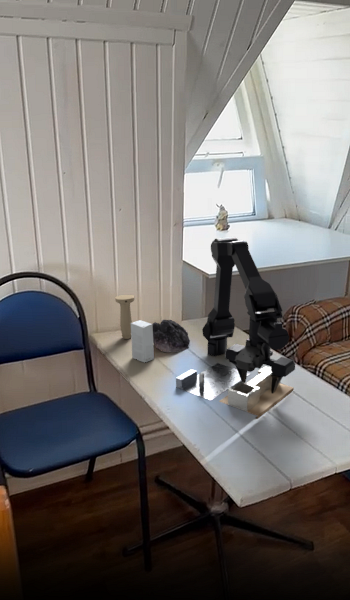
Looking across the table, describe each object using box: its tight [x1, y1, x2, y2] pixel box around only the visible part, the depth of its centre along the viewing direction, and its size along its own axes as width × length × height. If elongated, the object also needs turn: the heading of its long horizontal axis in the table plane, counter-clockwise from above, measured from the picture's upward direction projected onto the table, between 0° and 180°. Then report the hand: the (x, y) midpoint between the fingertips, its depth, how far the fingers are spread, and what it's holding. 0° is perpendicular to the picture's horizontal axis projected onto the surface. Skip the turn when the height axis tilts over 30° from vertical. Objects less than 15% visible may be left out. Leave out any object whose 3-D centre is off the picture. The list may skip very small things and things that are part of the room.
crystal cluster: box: [152, 319, 191, 353], centre depth 185 cm, size 13×14×10 cm
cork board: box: [218, 375, 295, 420], centre depth 151 cm, size 19×12×1 cm, turn 140°
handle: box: [114, 294, 135, 340], centre depth 190 cm, size 5×6×15 cm
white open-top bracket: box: [227, 365, 282, 413], centre depth 150 cm, size 18×6×4 cm, turn 140°
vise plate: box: [175, 362, 251, 402], centre depth 158 cm, size 20×12×6 cm, turn 140°
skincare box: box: [130, 319, 155, 363], centre depth 174 cm, size 6×4×12 cm
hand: (258, 387), depth 150 cm, fingers open, 9 cm apart
